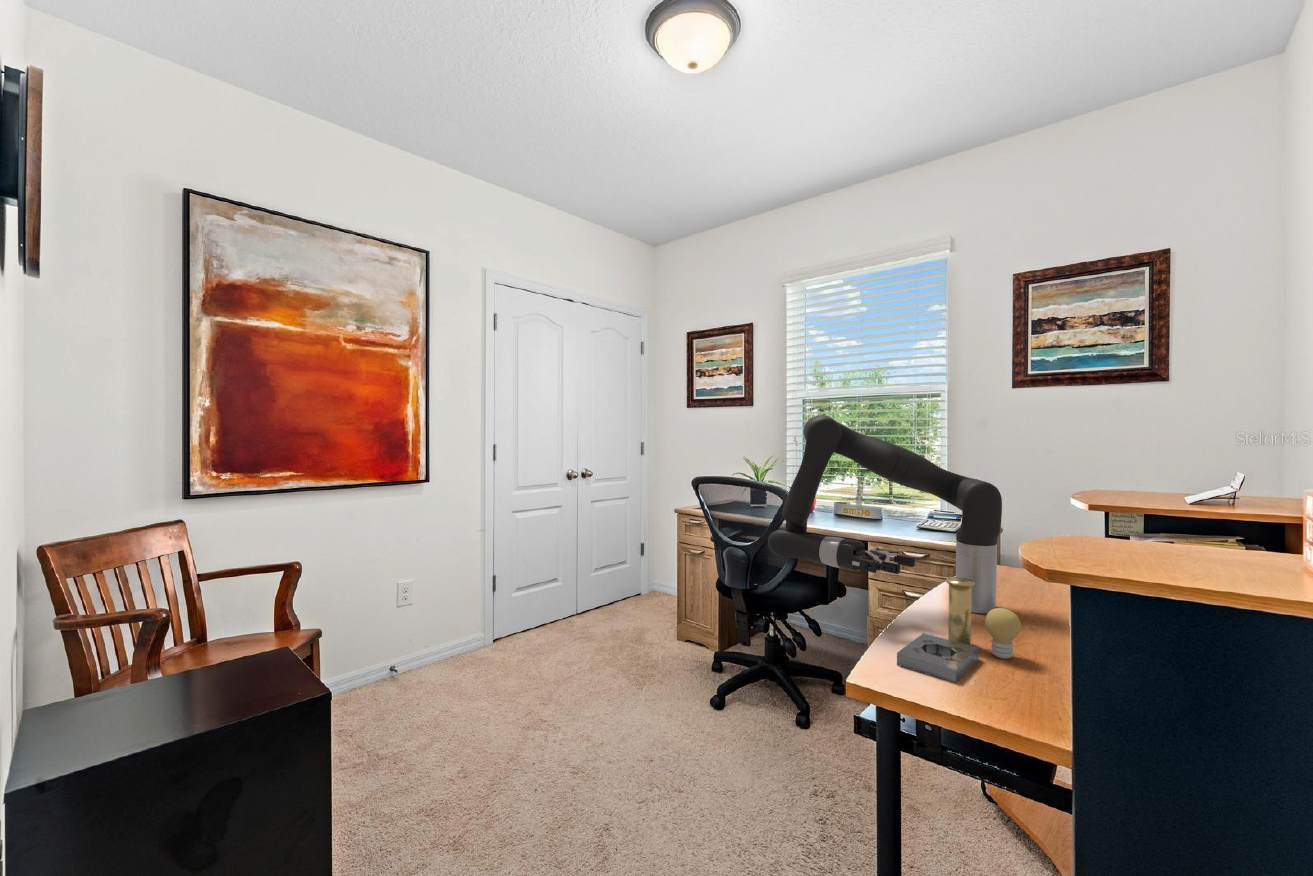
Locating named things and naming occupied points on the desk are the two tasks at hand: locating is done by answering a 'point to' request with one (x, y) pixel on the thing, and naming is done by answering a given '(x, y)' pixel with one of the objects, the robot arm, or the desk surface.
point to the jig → (938, 657)
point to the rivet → (959, 609)
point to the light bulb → (1002, 631)
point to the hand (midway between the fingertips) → (907, 566)
